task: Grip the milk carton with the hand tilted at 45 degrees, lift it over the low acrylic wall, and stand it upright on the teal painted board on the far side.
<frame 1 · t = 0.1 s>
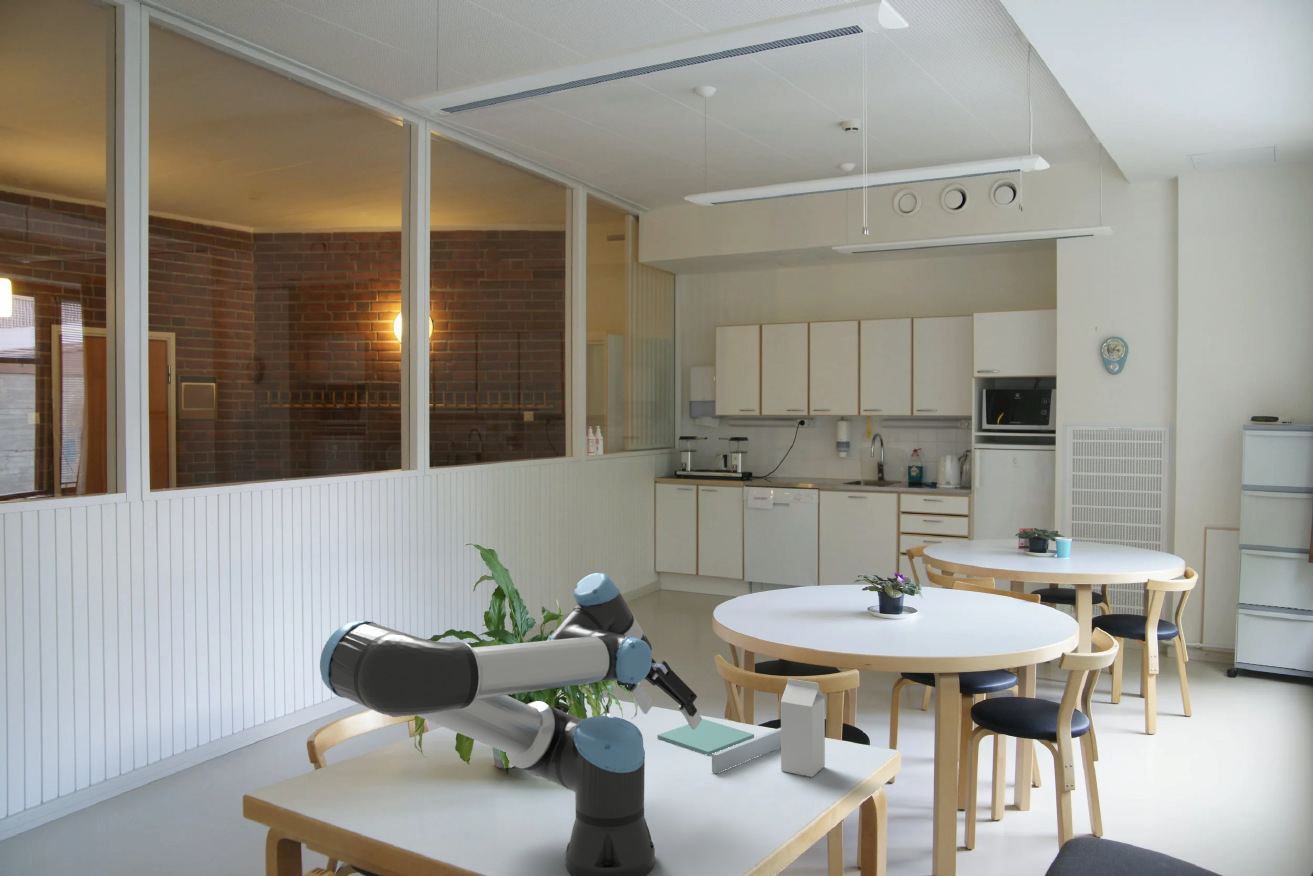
hand: (672, 716, 190), 15 cm above the table, tool tilted 35°, fingers open, 13 cm apart
coffee cup: (508, 764, 207), on the table
milk carton: (803, 770, 202), on the table
acrylic wall: (756, 756, 210), on the table
teal board: (705, 738, 222), on the table
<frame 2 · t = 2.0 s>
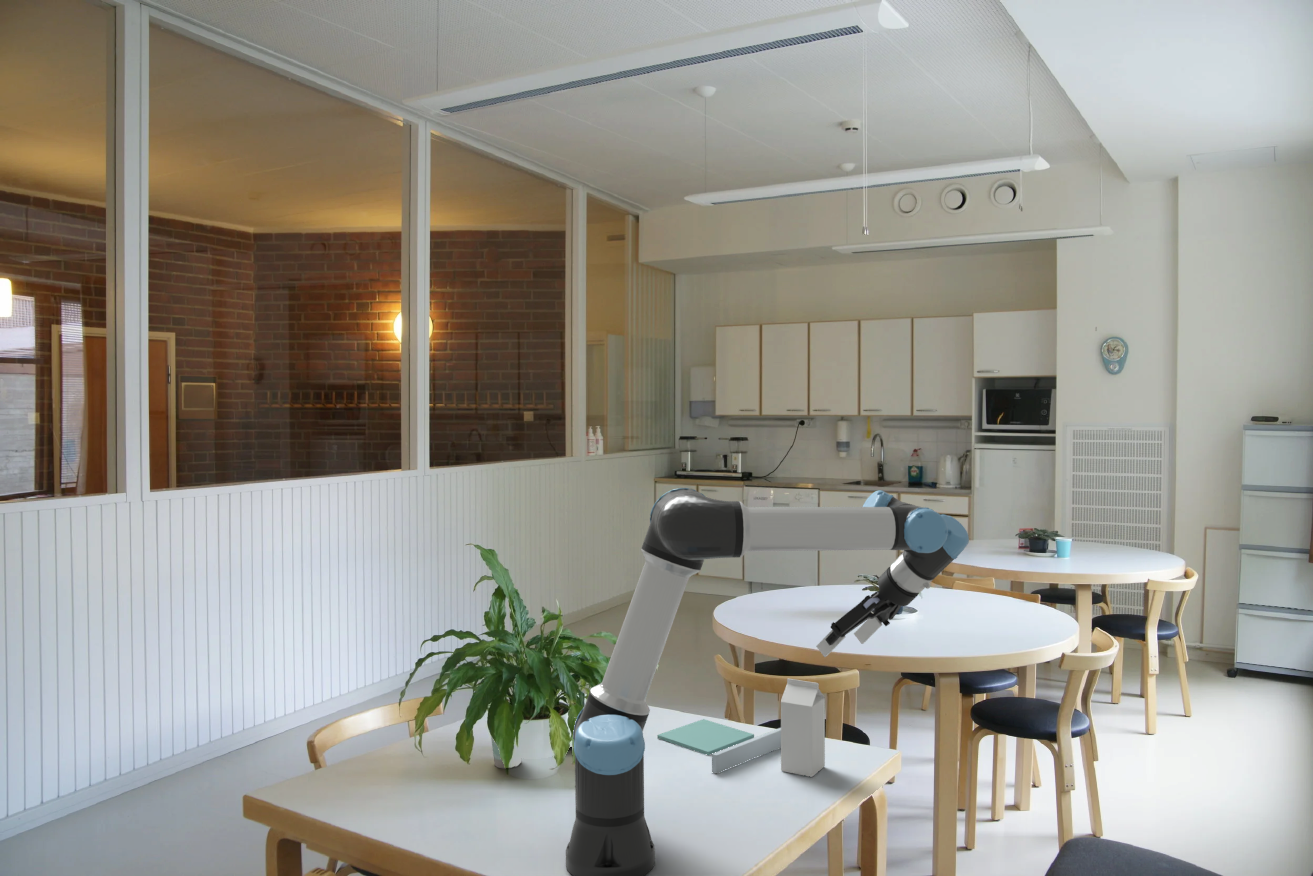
hand: (840, 645, 195), 28 cm above the table, tool tilted 45°, fingers open, 13 cm apart
nothing on the table moved.
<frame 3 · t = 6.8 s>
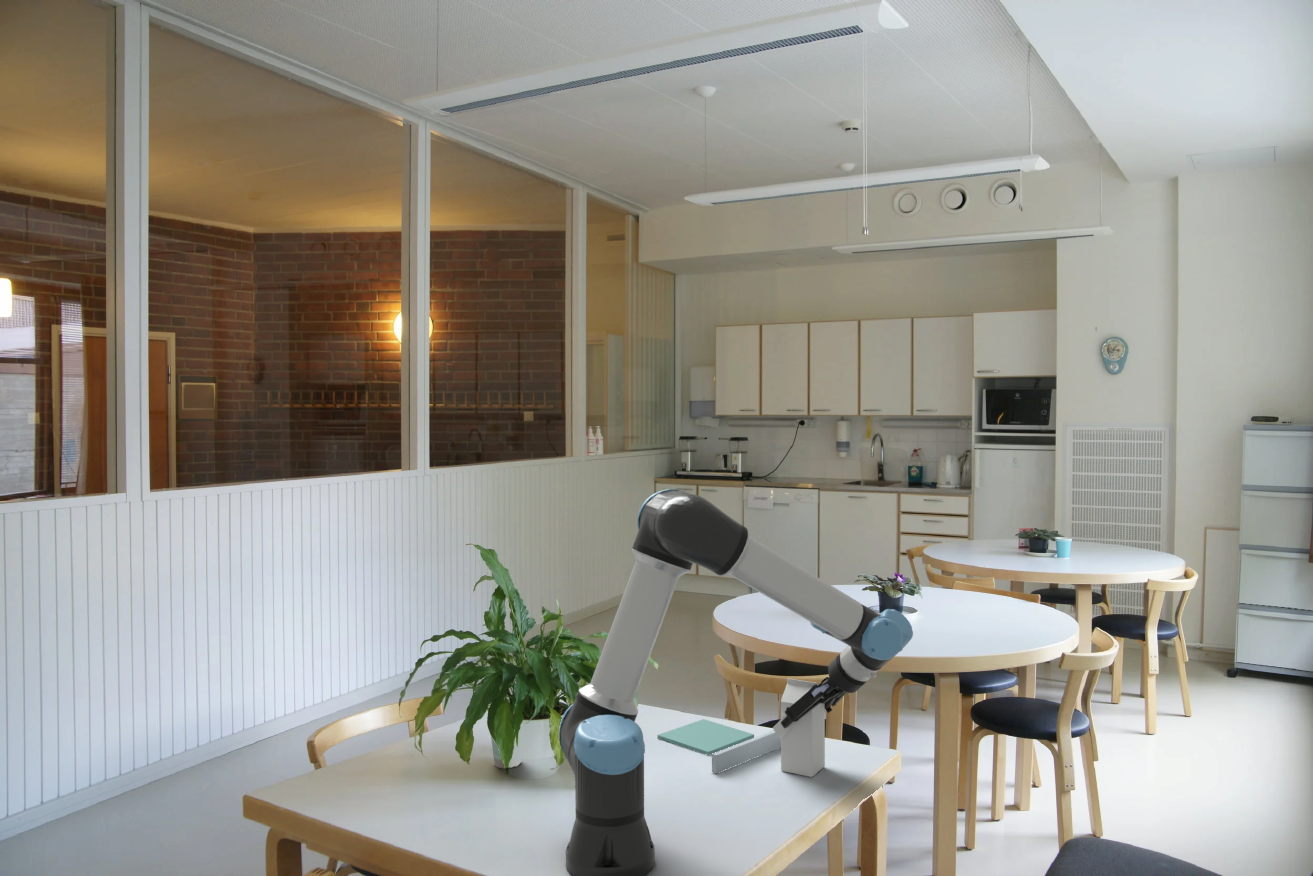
hand: (790, 727, 205), 8 cm above the table, tool tilted 45°, fingers closed on milk carton, 8 cm apart
milk carton: (803, 770, 202), on the table, touching gripper
everything else where it was.
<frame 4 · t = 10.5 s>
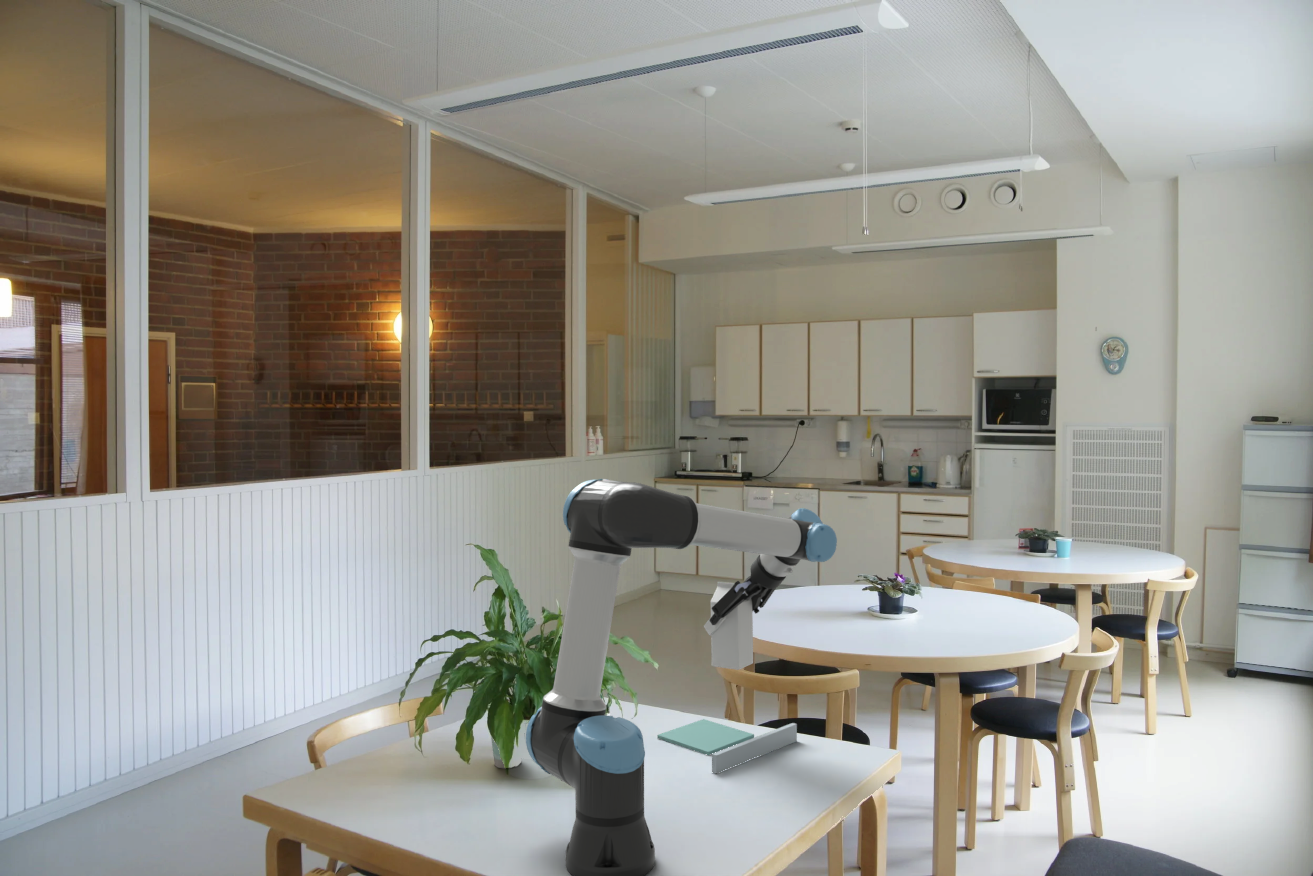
hand: (721, 627, 221), 26 cm above the table, tool tilted 45°, fingers closed on milk carton, 8 cm apart
milk carton: (732, 666, 218), point 18 cm above the table, touching gripper
everything else where it was.
when the fingers open (11 cm above the table, at t = 14.5 s): milk carton drops 2 cm, resting on teal board.
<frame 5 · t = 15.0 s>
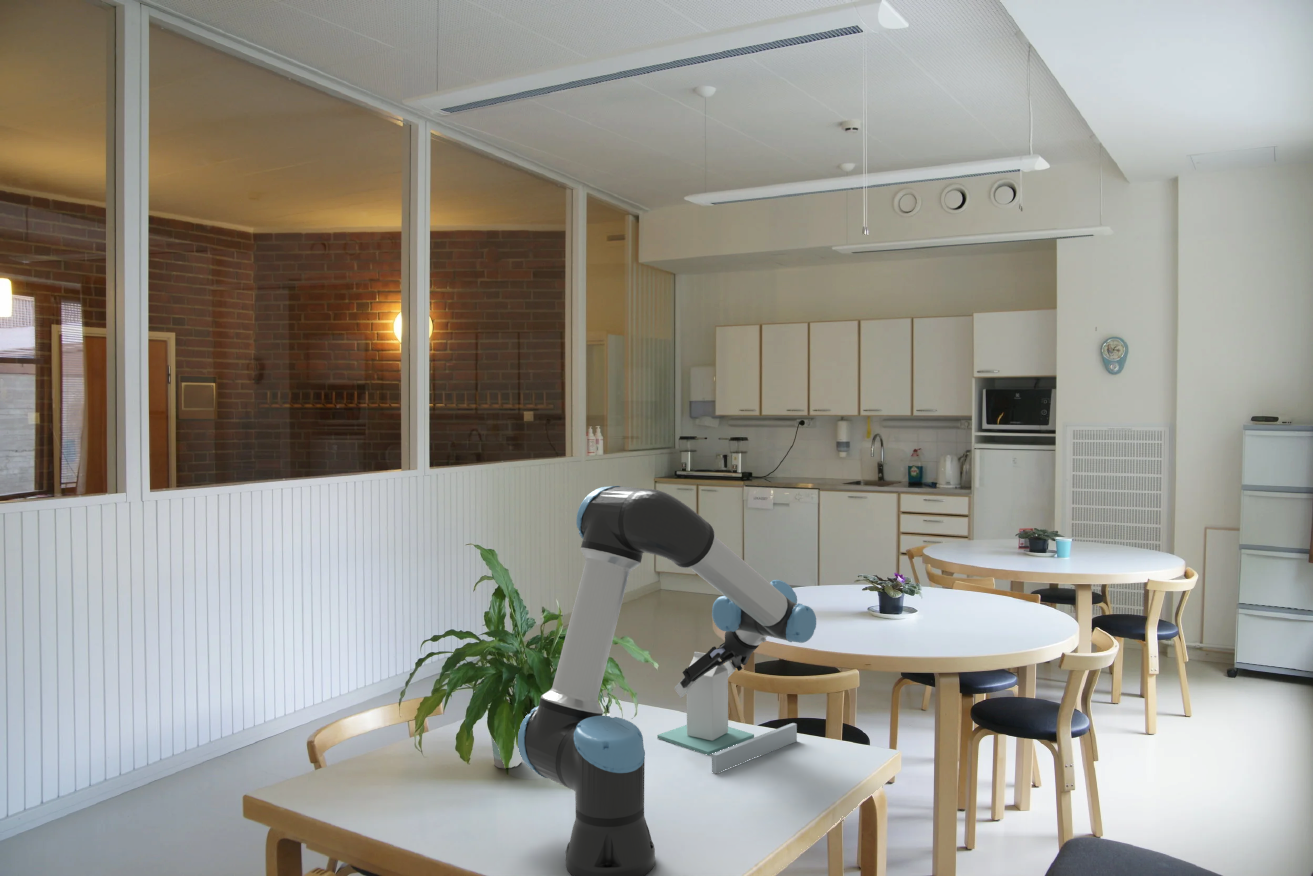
hand: (698, 686, 224), 12 cm above the table, tool tilted 45°, fingers open, 13 cm apart
milk carton: (707, 735, 222), point 1 cm above the table, touching teal board
everything else where it was.
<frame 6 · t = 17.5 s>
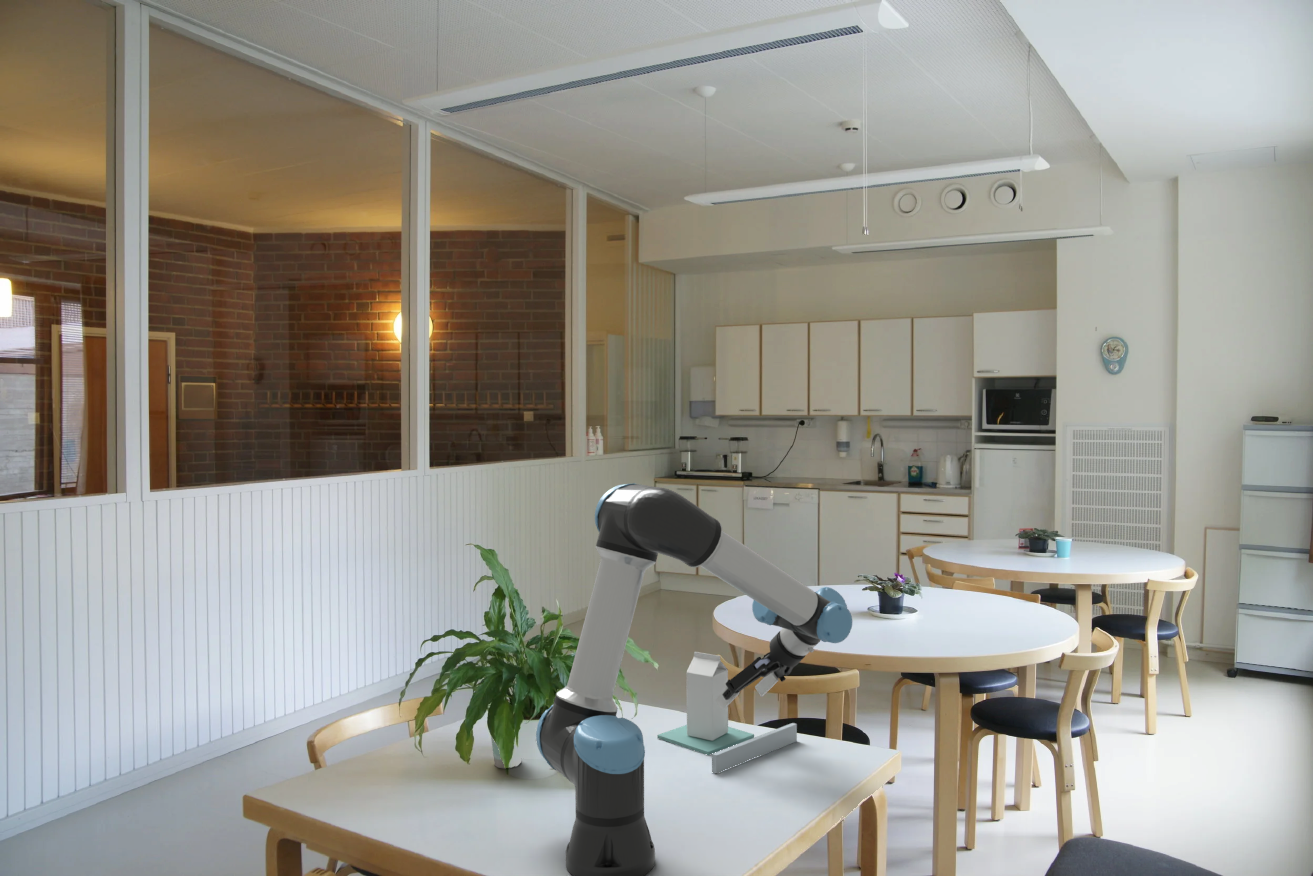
hand: (739, 698, 215), 12 cm above the table, tool tilted 45°, fingers open, 13 cm apart
nothing on the table moved.
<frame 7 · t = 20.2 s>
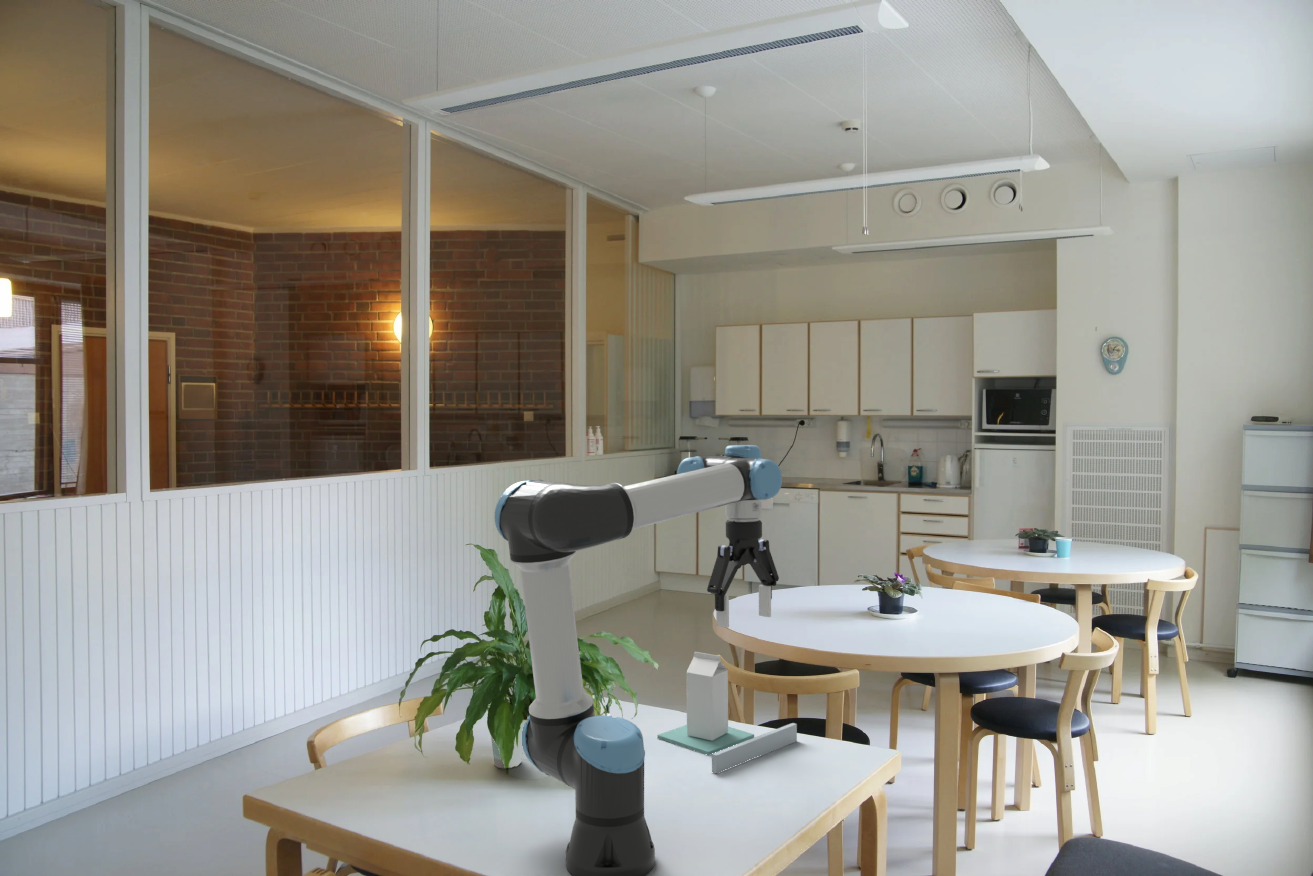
hand: (744, 621, 197), 33 cm above the table, tool pointing down, fingers open, 13 cm apart
nothing on the table moved.
at the end: milk carton inside the target area on the teal board (0.4 cm from its centre), point 0.6 cm above the teal board's base; milk carton tilted 0°; the gripper is holding nothing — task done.
